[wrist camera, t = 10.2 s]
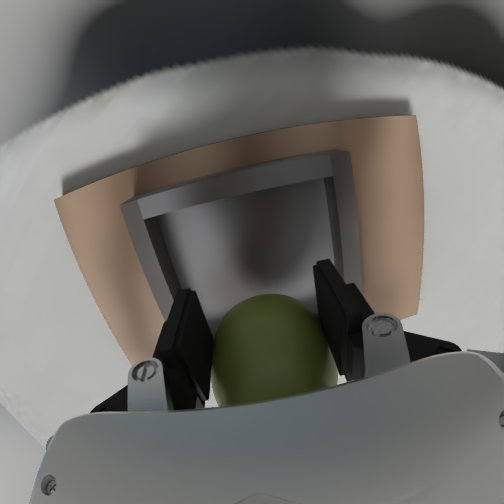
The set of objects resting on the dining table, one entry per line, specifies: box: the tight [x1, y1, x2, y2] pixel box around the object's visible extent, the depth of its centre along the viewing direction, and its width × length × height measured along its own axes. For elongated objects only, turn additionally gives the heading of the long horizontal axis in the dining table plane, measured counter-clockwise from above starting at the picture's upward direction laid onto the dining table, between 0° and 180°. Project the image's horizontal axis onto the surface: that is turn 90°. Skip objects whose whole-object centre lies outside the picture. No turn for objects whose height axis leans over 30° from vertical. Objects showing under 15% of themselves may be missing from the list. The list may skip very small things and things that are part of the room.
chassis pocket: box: [54, 115, 424, 366], centre depth 16 cm, size 22×14×3 cm, turn 102°
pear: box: [211, 294, 338, 407], centre depth 11 cm, size 6×5×10 cm
